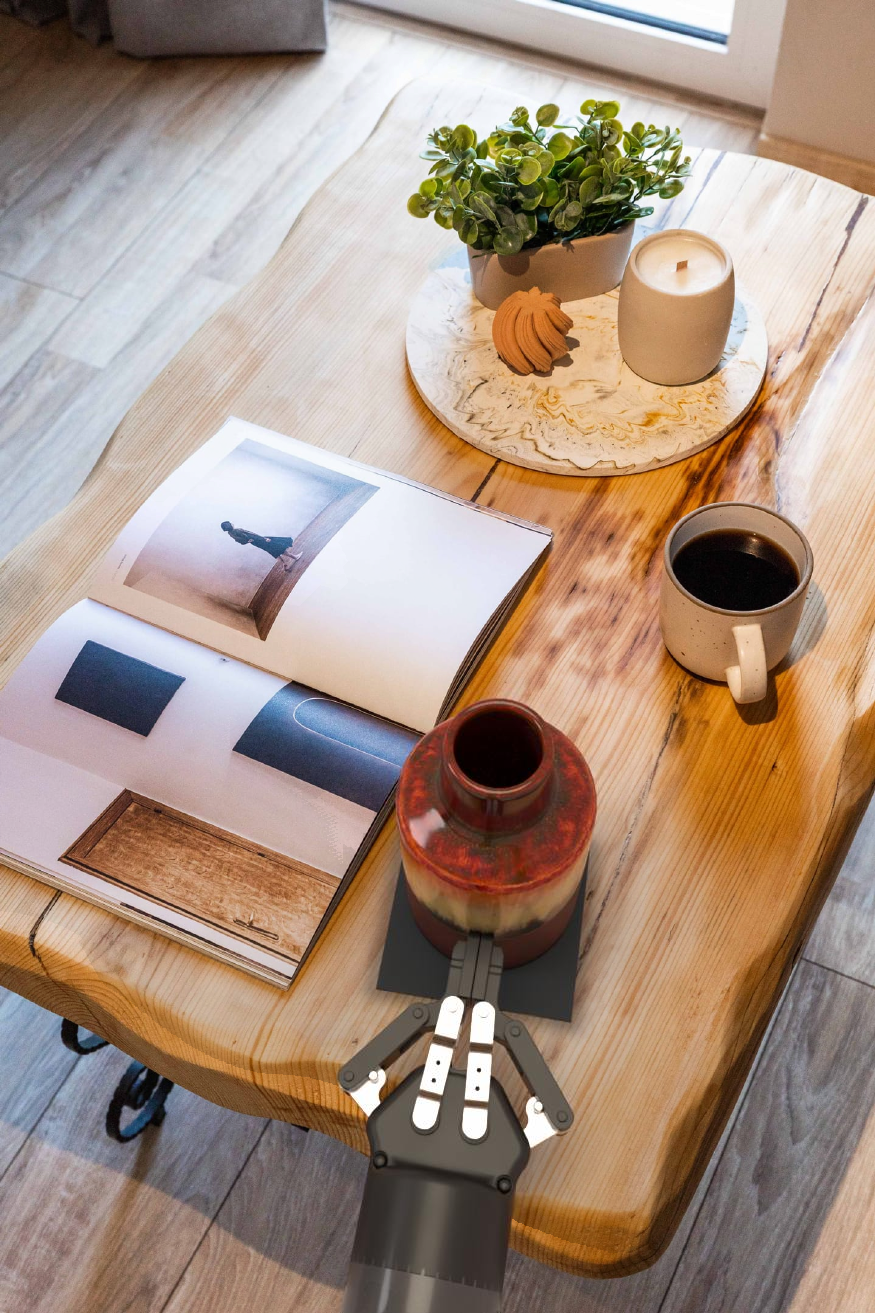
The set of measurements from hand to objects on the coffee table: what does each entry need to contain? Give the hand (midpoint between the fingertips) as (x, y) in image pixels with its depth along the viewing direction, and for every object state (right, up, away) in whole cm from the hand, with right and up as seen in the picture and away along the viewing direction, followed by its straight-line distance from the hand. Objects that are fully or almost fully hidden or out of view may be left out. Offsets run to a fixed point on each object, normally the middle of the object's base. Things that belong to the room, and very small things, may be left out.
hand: (481, 937), depth 62 cm
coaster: (+1, -1, +8) cm, 8 cm away
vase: (+1, +1, +9) cm, 9 cm away
